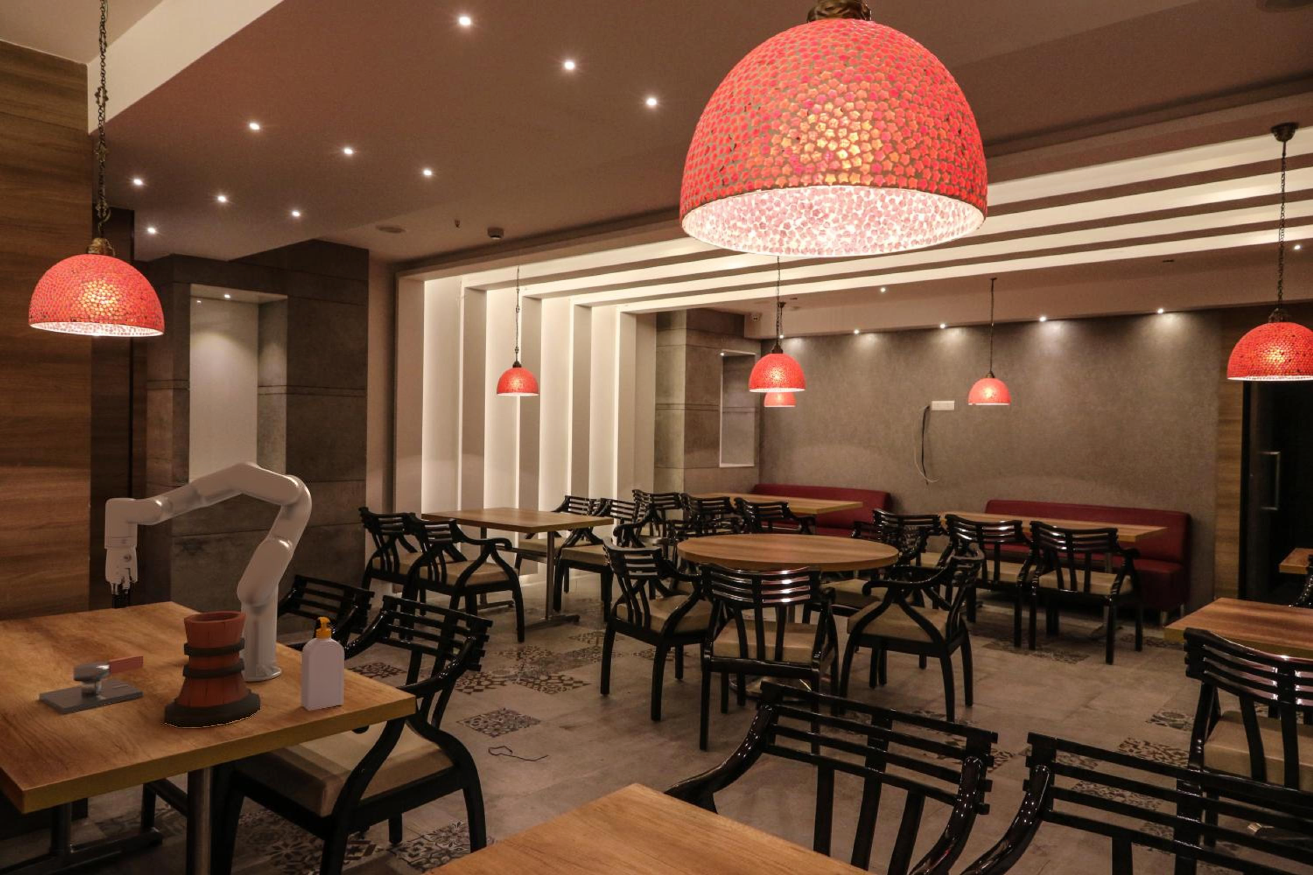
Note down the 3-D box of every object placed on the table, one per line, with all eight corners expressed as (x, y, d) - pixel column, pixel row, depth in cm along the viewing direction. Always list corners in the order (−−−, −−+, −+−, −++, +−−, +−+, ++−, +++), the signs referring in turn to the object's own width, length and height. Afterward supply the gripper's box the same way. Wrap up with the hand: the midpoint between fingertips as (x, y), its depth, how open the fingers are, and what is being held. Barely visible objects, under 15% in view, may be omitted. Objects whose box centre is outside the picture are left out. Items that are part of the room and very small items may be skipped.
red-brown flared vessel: (149, 731, 192) (151, 628, 192) (181, 699, 216) (183, 607, 216) (251, 724, 198) (253, 624, 198) (270, 693, 222) (272, 604, 222)
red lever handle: (81, 684, 209) (81, 670, 209) (67, 676, 215) (67, 663, 215) (149, 670, 222) (149, 658, 222) (134, 664, 228) (134, 651, 228)
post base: (142, 696, 217) (143, 677, 217) (63, 714, 202) (63, 693, 202) (116, 683, 228) (116, 664, 228) (39, 699, 213) (39, 679, 213)
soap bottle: (334, 698, 218) (336, 613, 219) (343, 705, 213) (345, 618, 213) (299, 704, 213) (301, 617, 213) (307, 711, 207) (309, 622, 207)
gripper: (146, 543, 224) (145, 609, 224) (125, 538, 233) (123, 602, 233) (116, 546, 218) (114, 613, 218) (95, 541, 227) (93, 606, 227)
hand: (119, 607), depth 226 cm, fingers closed
